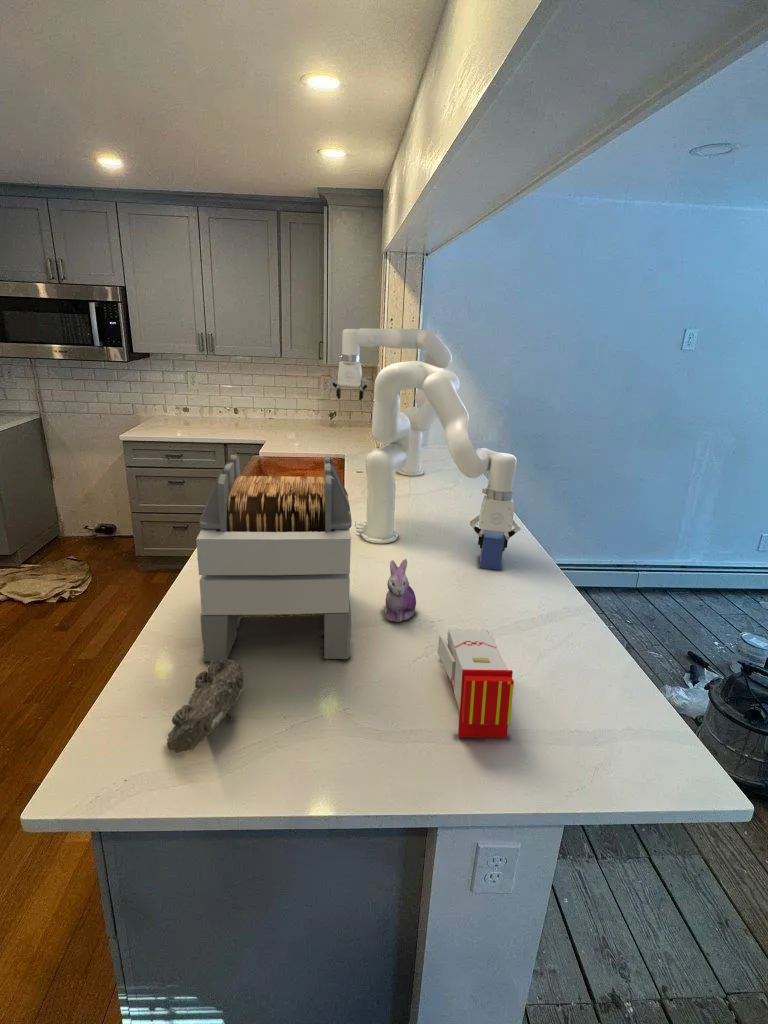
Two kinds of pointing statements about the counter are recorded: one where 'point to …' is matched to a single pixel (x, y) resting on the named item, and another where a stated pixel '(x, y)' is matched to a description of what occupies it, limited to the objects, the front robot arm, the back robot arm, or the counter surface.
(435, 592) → the counter surface
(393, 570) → the figurine
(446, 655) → the toy
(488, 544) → the block
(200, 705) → the fossil
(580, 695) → the counter surface
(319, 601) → the record crate
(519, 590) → the counter surface
